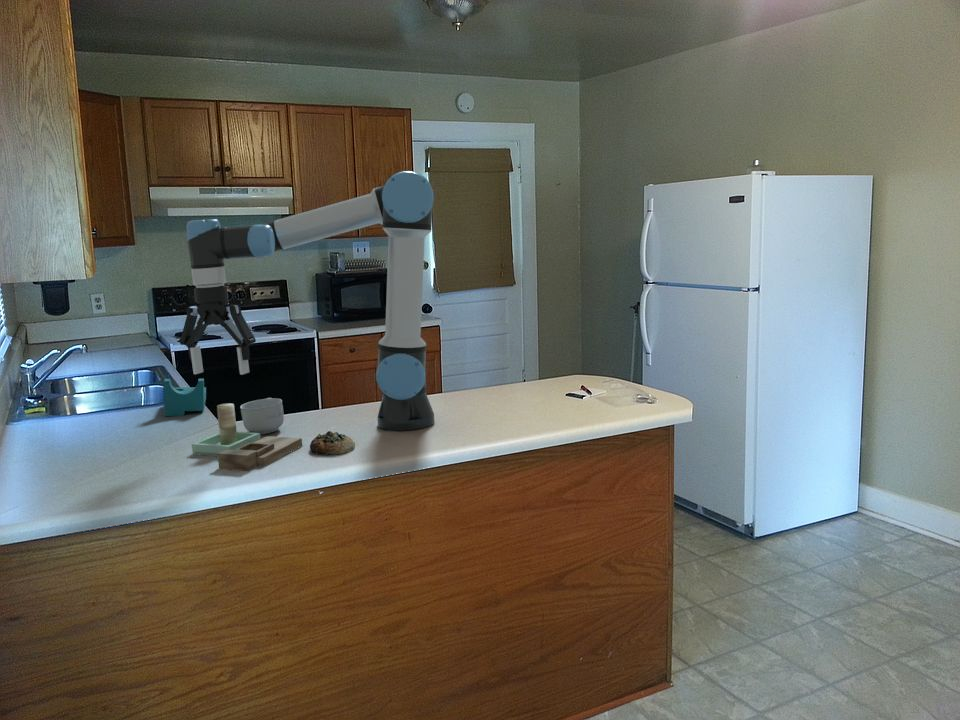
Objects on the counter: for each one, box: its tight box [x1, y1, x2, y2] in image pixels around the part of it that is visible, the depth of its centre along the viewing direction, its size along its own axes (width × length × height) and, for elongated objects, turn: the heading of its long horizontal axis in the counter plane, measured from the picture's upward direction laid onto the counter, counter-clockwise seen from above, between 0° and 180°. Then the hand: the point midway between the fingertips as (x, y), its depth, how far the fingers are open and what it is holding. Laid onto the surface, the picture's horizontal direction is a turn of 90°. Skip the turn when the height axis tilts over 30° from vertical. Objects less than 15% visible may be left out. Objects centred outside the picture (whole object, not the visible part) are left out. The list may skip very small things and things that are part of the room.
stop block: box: [217, 450, 258, 472], centre depth 173 cm, size 8×3×4 cm, turn 70°
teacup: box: [239, 397, 285, 435], centre depth 204 cm, size 14×11×8 cm
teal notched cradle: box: [163, 378, 207, 417], centre depth 234 cm, size 18×11×10 cm, turn 17°
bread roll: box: [309, 430, 356, 456], centre depth 185 cm, size 11×11×5 cm
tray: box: [191, 431, 262, 457], centre depth 189 cm, size 11×12×2 cm
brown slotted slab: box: [235, 436, 303, 467], centre depth 182 cm, size 10×16×4 cm, turn 161°
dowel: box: [216, 402, 238, 445], centre depth 189 cm, size 4×4×10 cm
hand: (221, 373), depth 186 cm, fingers open, 13 cm apart
